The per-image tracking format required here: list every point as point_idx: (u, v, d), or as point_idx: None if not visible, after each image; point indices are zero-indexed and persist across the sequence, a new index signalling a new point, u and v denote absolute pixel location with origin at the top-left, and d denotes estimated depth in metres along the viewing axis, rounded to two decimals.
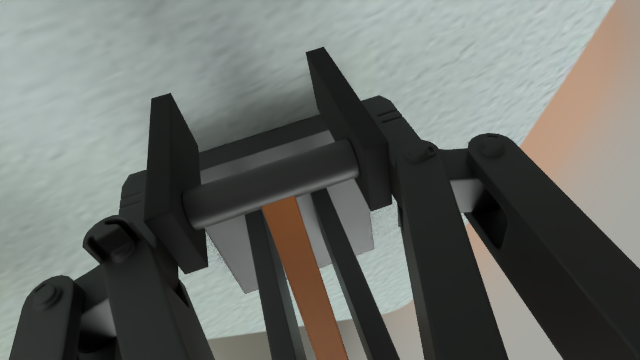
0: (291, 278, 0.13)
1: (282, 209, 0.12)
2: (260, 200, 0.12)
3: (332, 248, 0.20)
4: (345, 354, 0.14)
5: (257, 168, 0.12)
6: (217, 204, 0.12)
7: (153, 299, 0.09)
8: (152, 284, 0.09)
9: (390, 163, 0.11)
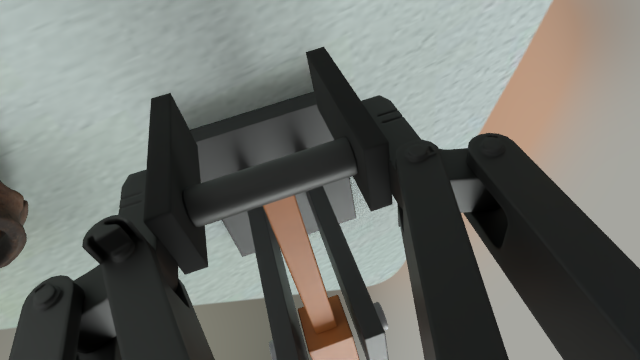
0: (286, 256, 0.14)
1: (282, 206, 0.13)
2: (262, 202, 0.12)
3: (314, 203, 0.24)
4: (327, 300, 0.17)
5: (258, 170, 0.12)
6: (220, 208, 0.12)
7: (153, 299, 0.09)
8: (152, 284, 0.09)
9: (390, 163, 0.11)
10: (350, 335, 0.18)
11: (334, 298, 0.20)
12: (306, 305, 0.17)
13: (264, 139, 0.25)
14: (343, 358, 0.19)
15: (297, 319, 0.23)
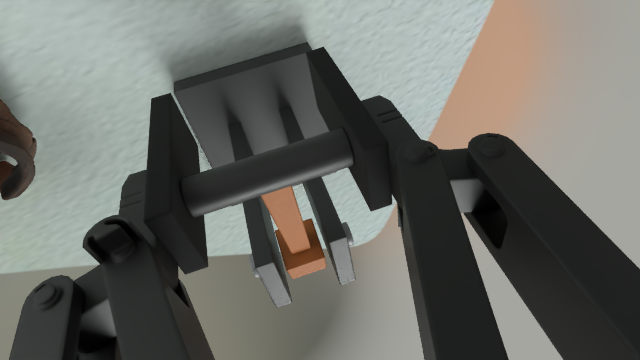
0: (276, 219, 0.15)
1: (278, 193, 0.13)
2: (260, 195, 0.13)
3: None
4: (306, 236, 0.19)
5: (257, 167, 0.12)
6: (220, 204, 0.12)
7: (153, 299, 0.09)
8: (152, 284, 0.09)
9: (390, 163, 0.11)
10: (322, 256, 0.21)
11: (308, 222, 0.22)
12: (287, 242, 0.19)
13: (249, 88, 0.28)
14: (314, 268, 0.23)
15: (276, 244, 0.25)
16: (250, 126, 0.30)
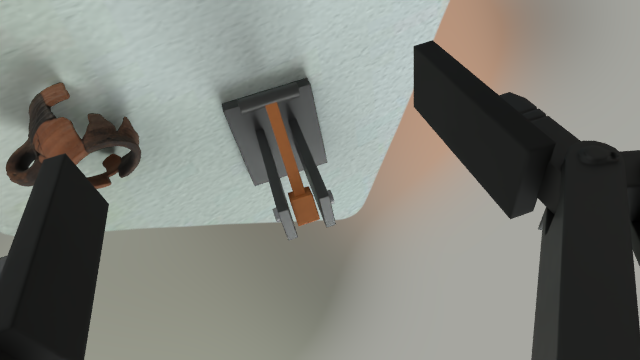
0: (276, 134, 0.36)
1: (272, 107, 0.35)
2: (264, 103, 0.34)
3: (297, 143, 0.42)
4: (297, 169, 0.37)
5: (263, 92, 0.35)
6: (250, 103, 0.34)
7: None
8: None
9: (552, 166, 0.10)
10: (311, 194, 0.37)
11: (306, 187, 0.39)
12: (287, 171, 0.37)
13: None
14: (310, 213, 0.38)
15: None
16: (269, 131, 0.46)
